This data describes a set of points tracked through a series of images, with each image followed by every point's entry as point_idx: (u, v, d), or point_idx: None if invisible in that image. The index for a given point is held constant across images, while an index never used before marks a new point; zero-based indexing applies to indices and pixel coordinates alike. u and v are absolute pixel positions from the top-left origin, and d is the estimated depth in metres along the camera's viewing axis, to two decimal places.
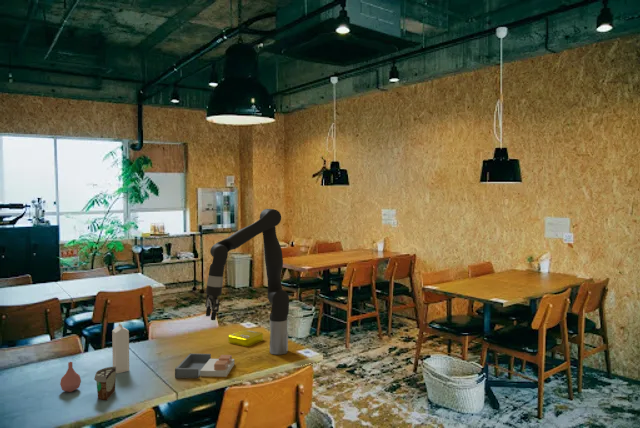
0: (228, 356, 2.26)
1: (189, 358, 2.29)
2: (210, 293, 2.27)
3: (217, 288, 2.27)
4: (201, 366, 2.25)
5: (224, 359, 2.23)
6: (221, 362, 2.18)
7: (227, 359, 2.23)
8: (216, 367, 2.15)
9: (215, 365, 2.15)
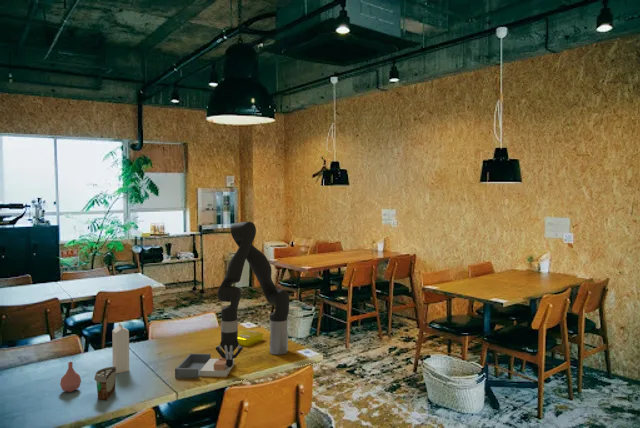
0: None
1: (189, 358, 2.29)
2: (234, 339, 2.14)
3: (237, 331, 2.17)
4: (201, 366, 2.25)
5: (224, 359, 2.23)
6: (220, 361, 2.18)
7: None
8: (215, 367, 2.15)
9: (215, 365, 2.15)
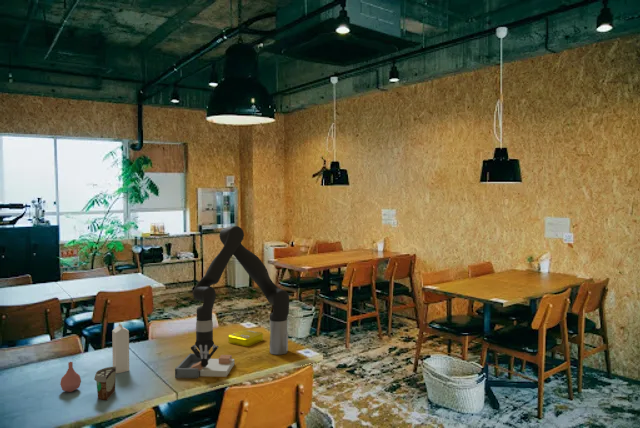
0: (228, 356, 2.26)
1: (189, 358, 2.29)
2: (209, 338, 2.15)
3: (212, 331, 2.17)
4: None
5: (224, 359, 2.23)
6: (196, 364, 2.19)
7: (227, 359, 2.23)
8: None
9: None
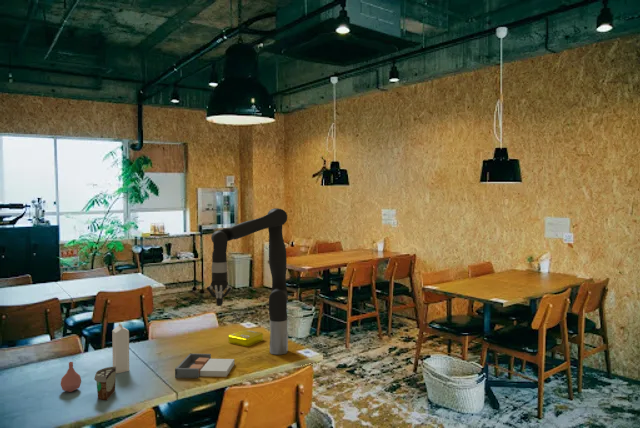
0: (205, 359, 2.27)
1: (189, 358, 2.29)
2: (223, 279, 2.33)
3: None
4: None
5: (200, 362, 2.25)
6: (196, 365, 2.19)
7: (203, 362, 2.25)
8: None
9: None
